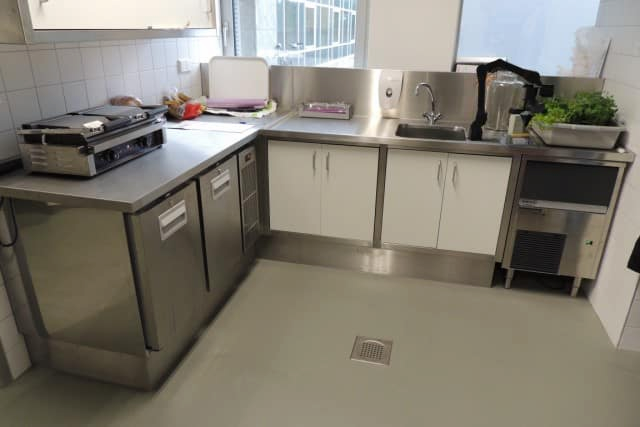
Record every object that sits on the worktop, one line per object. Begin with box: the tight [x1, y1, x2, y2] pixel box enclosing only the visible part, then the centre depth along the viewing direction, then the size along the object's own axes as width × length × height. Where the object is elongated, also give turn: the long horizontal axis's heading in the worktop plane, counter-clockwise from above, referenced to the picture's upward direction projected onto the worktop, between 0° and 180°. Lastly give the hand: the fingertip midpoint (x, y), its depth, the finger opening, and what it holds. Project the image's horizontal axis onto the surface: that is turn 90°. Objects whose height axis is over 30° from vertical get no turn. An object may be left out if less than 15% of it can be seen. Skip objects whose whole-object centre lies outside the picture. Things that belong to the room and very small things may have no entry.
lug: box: [527, 134, 535, 144], centre depth 241 cm, size 2×3×5 cm
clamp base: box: [497, 131, 538, 148], centre depth 244 cm, size 16×11×6 cm
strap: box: [503, 133, 531, 138], centre depth 243 cm, size 14×3×1 cm, turn 98°
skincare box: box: [507, 114, 524, 134], centre depth 259 cm, size 6×4×12 cm
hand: (525, 127), depth 242 cm, fingers closed
